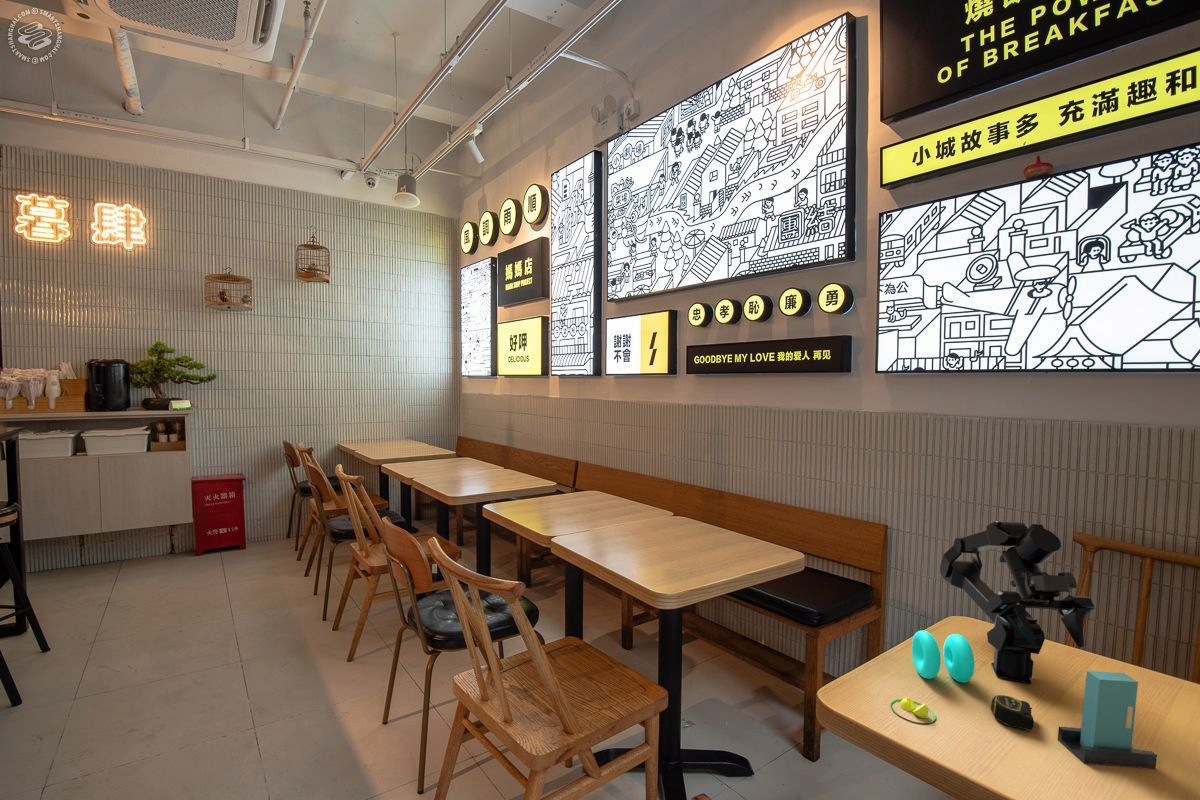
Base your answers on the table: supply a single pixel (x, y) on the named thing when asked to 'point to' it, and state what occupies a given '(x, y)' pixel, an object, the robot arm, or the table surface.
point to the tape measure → (1012, 712)
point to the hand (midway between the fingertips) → (1057, 645)
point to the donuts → (954, 654)
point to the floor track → (1105, 752)
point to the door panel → (1108, 710)
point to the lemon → (914, 708)
